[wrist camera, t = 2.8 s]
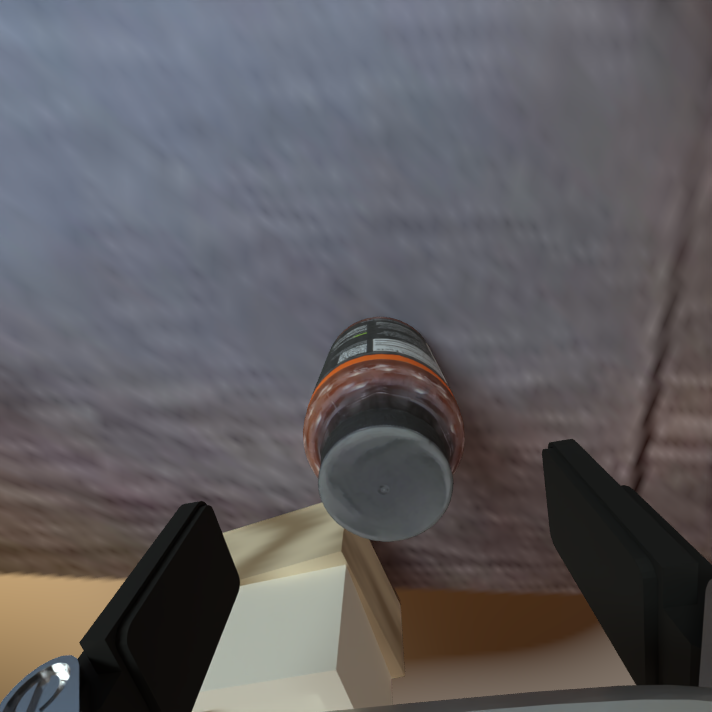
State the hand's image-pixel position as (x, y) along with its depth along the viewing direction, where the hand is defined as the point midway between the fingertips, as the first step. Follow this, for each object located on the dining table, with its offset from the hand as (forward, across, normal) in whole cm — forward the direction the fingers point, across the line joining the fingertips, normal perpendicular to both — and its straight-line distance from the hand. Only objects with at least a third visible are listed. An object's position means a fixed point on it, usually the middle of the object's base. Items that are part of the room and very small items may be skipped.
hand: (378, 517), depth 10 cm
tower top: (+8, +8, +14) cm, 17 cm away
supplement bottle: (+12, 0, 0) cm, 12 cm away
